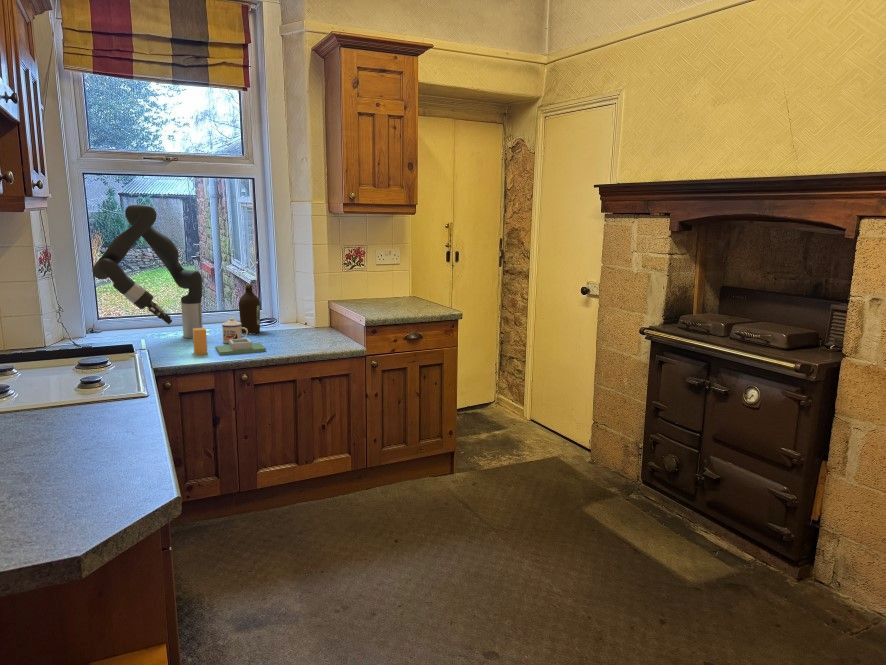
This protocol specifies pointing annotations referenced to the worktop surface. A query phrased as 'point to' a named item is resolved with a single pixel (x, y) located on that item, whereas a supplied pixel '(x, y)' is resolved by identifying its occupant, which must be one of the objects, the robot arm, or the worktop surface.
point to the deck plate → (240, 347)
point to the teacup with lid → (232, 330)
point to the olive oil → (249, 311)
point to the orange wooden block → (199, 341)
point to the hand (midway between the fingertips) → (169, 321)
